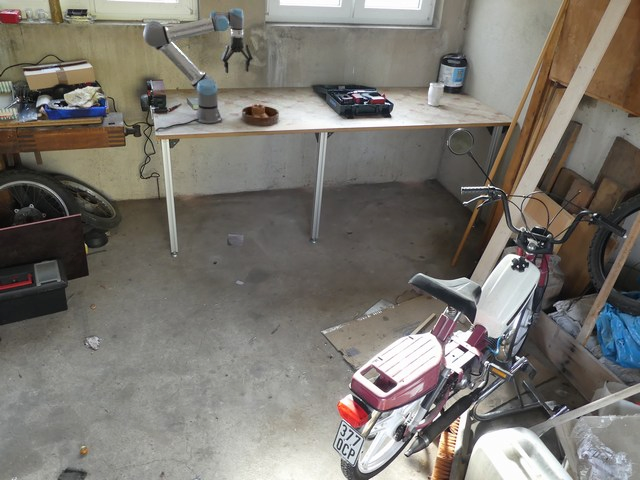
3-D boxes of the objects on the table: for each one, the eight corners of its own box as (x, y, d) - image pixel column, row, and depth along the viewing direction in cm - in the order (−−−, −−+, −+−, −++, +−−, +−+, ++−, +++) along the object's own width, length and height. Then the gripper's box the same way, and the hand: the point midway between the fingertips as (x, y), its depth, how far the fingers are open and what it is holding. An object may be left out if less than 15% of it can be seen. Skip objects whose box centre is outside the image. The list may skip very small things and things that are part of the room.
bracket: (250, 114, 342) (250, 104, 338) (262, 114, 345) (263, 103, 341) (257, 124, 328) (257, 113, 324) (270, 123, 331) (270, 113, 327)
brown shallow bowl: (252, 128, 323) (252, 119, 320) (235, 116, 339) (235, 108, 336) (285, 123, 335) (285, 115, 332) (267, 112, 350) (267, 104, 347)
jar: (425, 105, 391) (429, 85, 383) (426, 101, 400) (430, 81, 392) (440, 107, 389) (444, 87, 381) (440, 103, 398) (444, 83, 390)
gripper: (220, 38, 312) (220, 74, 323) (258, 37, 324) (257, 72, 335) (215, 35, 317) (215, 71, 328) (253, 34, 329) (252, 69, 340)
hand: (237, 71), depth 331 cm, fingers open, 13 cm apart
